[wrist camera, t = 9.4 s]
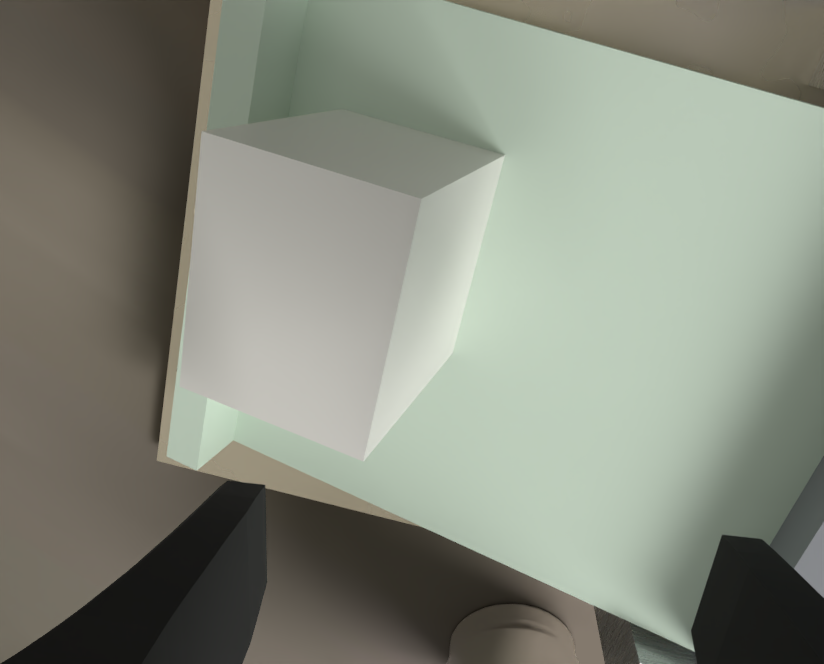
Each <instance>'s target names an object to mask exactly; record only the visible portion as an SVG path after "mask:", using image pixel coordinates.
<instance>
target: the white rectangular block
mask: <svg viewBox="0 0 824 664" xmlns="http://www.w3.org/2000/svg"><path fill="white" fill-rule="evenodd" d="M504 157H505V155H503V154H499V153H496V152H492V151H489V150H485V149H482V148H478V147H475V146H471V145H468V144H464V143H461V142H457V141H454V140H450V139H447V138H443V137H440V136H436V135H433V134H429V133H426V132H422V131H419V130H415V129H412V128H408V127H405V126H401V125H397V124H394V123H390V122H387V121H383V120H380V119H376V118H373V117H369V116H366V115H362V114H359V113H355V112H352V111H348V110H345V109H338V110H332V111H326V112H320V113H313V114H307V115H301V116H294V117H288V118H282V119H275V120H269V121H263V122H256V123H250V124H244V125H237V126H231V127H225V128H218V129H212V130H206V131H202V133H201V145H200V156H199V168H198V179H197V191H196V202H195V214H194V225H193V237H192V248H191V260H190V271H189V283H188V294H187V306H186V317H185V329H184V340H183V352H182V363H181V375H180V387H182V388H184V389H187V390H189V391H192V392H194V393H197V394H199V395H202V396H204V397H207V398H209V399H211V400H214V401H216V402H219V403H221V404H224V405H226V406H229V407H231V408H233V409H236V410H238V411H241V412H243V413H246V414H248V415H251V416H253V417H256V418H258V419H260V420H263V421H265V422H268V423H270V424H273V425H275V426H278V427H280V428H282V429H285V430H287V431H290V432H292V433H295V434H297V435H300V436H302V437H305V438H307V439H309V440H312V441H314V442H317V443H319V444H322V445H324V446H327V447H329V448H331V449H334V450H336V451H339V452H341V453H344V454H346V455H349V456H351V457H353V458H356V459H358V460H361V461H363V462H364V460H365V459H366V458H367V457H368V456H369V454H370V453H371V452H372V451H373V449H374V448H375V447H376V446H377V445H378V443H379V442H380V441H381V440H382V438H383V437H384V436H385V435H386V434H387V432H388V431H389V430H390V429H391V428H392V426H393V425H394V424H395V423H396V421H397V420H398V419H399V418H400V417H401V415H402V414H403V413H404V412H405V411H406V409H407V408H408V407H409V406H410V404H411V403H412V402H413V401H414V400H415V398H416V397H417V396H418V395H419V394H420V392H421V391H422V390H423V389H424V387H425V386H426V385H427V384H428V383H429V381H430V380H431V379H432V378H433V376H434V375H435V374H436V373H437V372H438V370H439V369H440V368H441V367H442V366H443V364H444V363H445V362H446V361H447V359H448V358H449V357H450V356H451V355H452V353H453V350H454V346H455V342H456V339H457V335H458V331H459V327H460V323H461V320H462V316H463V312H464V308H465V304H466V301H467V297H468V293H469V289H470V285H471V282H472V278H473V274H474V270H475V267H476V263H477V259H478V255H479V251H480V248H481V244H482V240H483V236H484V232H485V229H486V225H487V221H488V217H489V213H490V210H491V206H492V202H493V198H494V195H495V191H496V187H497V183H498V179H499V176H500V172H501V168H502V164H503V160H504Z"/></svg>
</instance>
